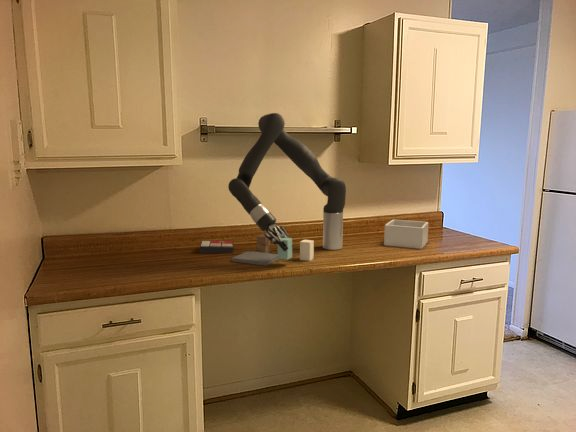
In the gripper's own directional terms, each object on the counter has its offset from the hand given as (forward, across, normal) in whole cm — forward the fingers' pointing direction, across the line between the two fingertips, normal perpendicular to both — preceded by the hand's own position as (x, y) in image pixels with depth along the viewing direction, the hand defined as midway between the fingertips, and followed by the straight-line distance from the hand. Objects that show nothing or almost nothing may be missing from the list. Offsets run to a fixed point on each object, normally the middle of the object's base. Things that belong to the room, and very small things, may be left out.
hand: (289, 248), depth 192 cm
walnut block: (-8, +14, +18) cm, 25 cm away
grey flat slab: (-6, +2, +16) cm, 18 cm away
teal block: (+2, 0, +4) cm, 5 cm away
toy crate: (+31, +62, -20) cm, 72 cm away
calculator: (-23, +8, +34) cm, 42 cm away
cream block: (+7, +12, +3) cm, 14 cm away
